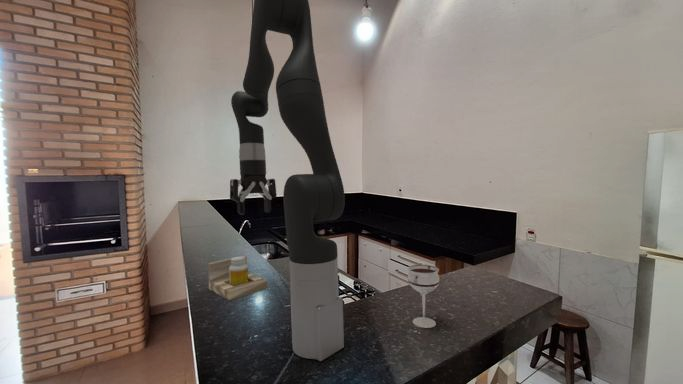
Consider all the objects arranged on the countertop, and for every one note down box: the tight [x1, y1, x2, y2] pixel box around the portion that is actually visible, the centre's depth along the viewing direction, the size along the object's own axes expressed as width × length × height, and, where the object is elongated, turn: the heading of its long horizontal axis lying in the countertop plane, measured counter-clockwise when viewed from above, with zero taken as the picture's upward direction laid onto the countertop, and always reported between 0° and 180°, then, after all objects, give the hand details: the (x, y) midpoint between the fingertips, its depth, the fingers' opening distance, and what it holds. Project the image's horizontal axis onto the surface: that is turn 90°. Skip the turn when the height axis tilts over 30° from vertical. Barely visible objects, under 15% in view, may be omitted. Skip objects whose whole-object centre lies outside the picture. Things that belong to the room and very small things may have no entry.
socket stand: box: [207, 255, 268, 301], centre depth 90 cm, size 14×12×8 cm
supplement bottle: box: [229, 256, 249, 287], centre depth 89 cm, size 5×5×10 cm
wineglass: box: [407, 264, 440, 329], centre depth 65 cm, size 7×7×12 cm
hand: (255, 213), depth 89 cm, fingers open, 8 cm apart
